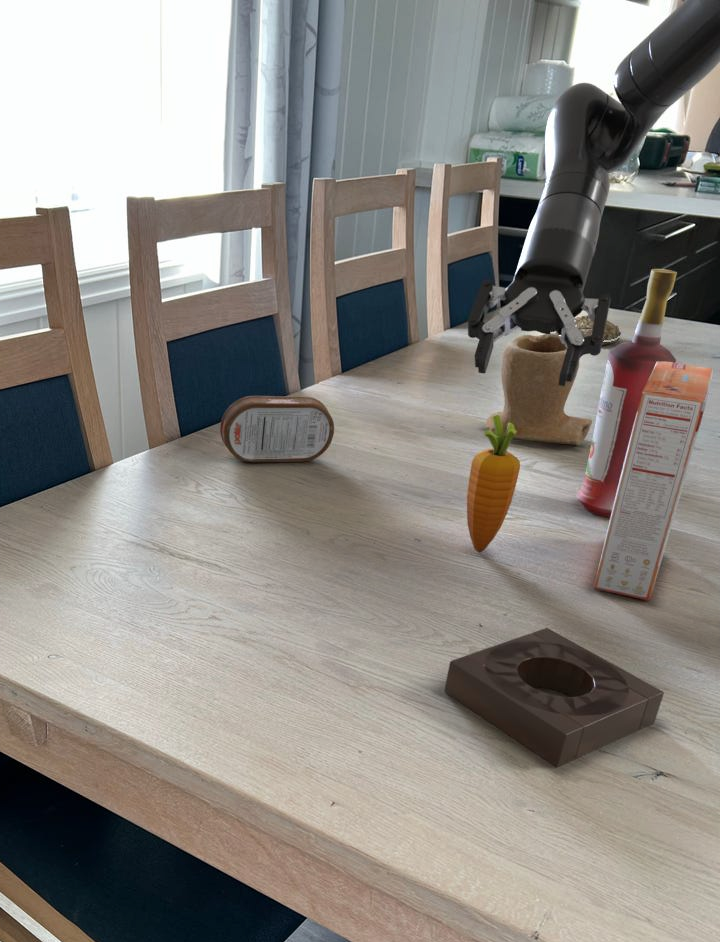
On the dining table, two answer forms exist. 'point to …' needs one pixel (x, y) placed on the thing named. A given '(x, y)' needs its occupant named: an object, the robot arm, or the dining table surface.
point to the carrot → (491, 486)
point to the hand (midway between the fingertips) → (521, 375)
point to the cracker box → (652, 478)
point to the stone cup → (537, 392)
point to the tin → (277, 429)
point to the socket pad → (548, 716)
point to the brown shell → (587, 326)
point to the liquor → (625, 396)
